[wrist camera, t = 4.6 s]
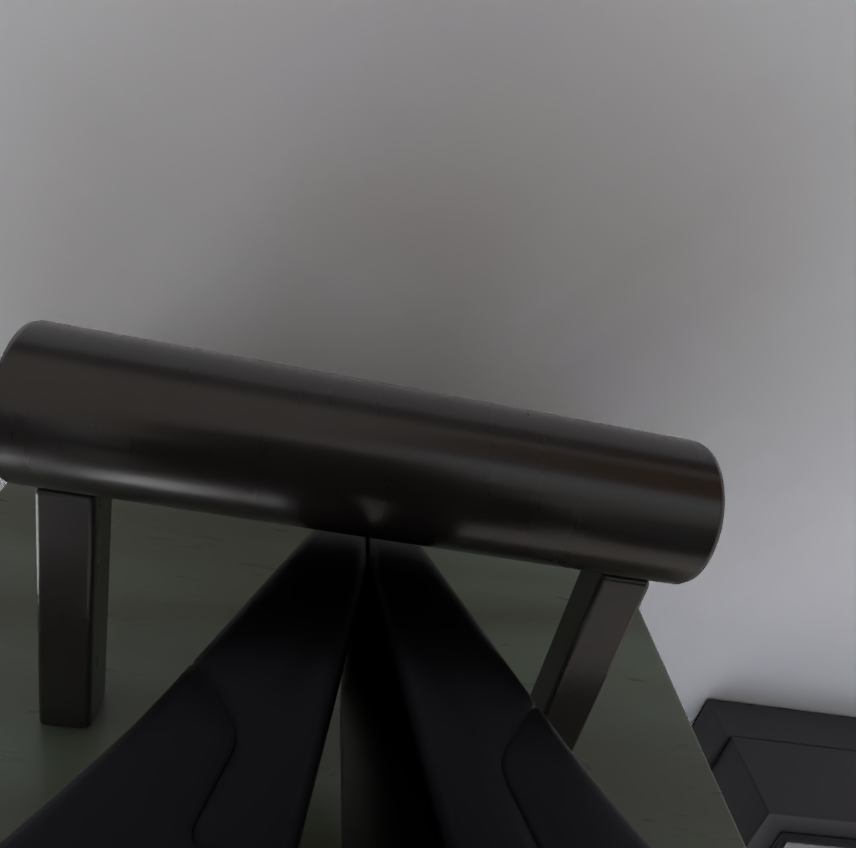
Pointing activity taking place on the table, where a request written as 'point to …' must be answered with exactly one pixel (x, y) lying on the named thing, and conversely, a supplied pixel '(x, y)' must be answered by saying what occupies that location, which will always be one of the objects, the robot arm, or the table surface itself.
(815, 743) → the dark box
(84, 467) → the drawer
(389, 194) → the table surface
